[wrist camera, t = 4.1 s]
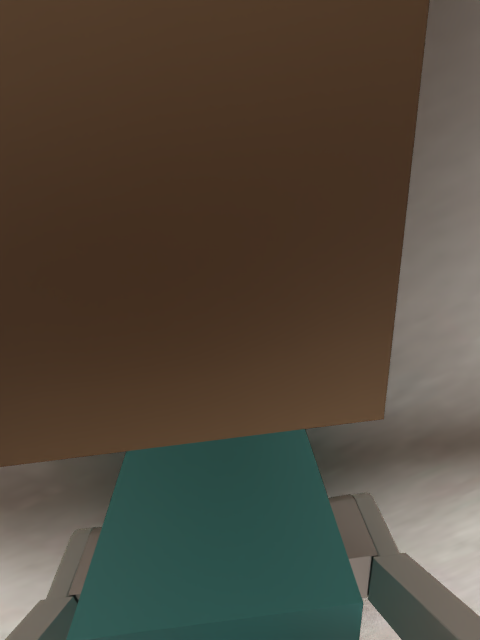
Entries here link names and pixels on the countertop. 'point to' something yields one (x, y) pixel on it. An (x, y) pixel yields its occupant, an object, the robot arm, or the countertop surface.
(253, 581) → the teal block
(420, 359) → the countertop surface
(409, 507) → the countertop surface
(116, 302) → the walnut block
